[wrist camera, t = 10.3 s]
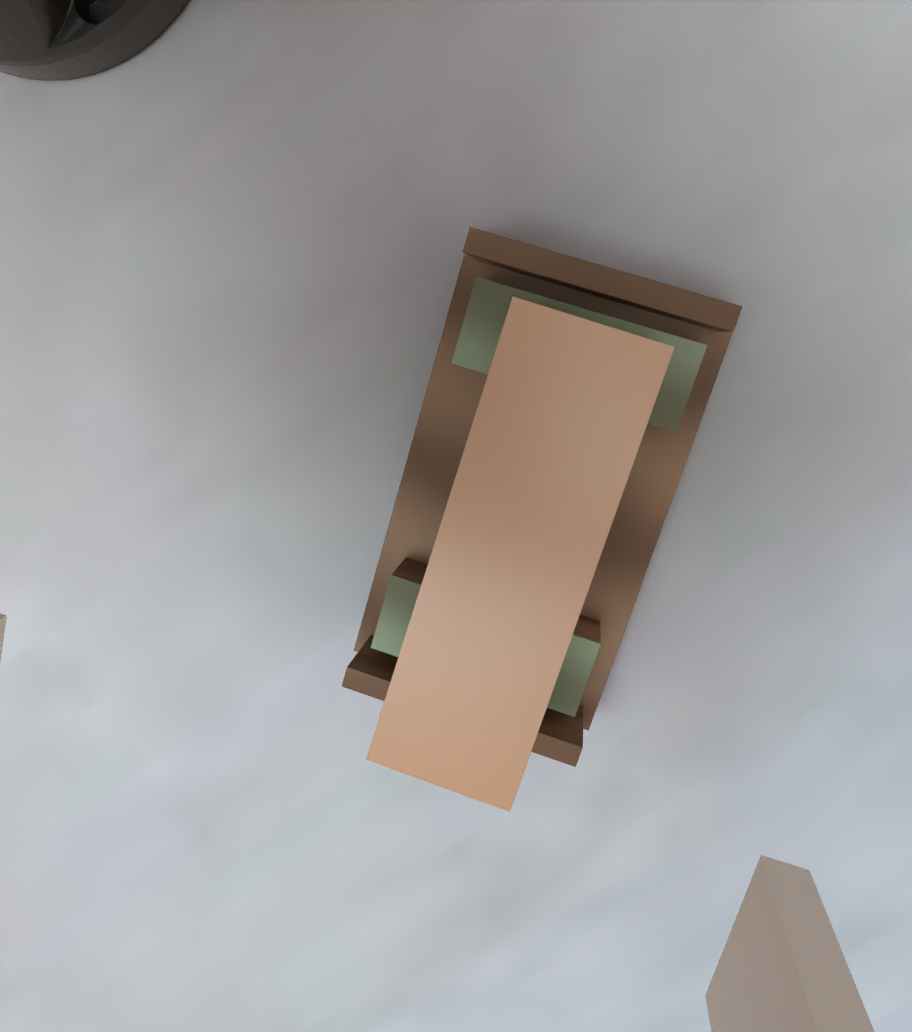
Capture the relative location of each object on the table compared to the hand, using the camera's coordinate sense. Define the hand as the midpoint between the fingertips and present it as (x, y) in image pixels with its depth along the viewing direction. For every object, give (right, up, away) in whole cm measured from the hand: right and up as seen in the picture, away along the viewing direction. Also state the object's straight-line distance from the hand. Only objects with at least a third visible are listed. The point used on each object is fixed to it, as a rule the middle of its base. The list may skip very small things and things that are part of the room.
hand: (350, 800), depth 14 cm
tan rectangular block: (+4, +4, +16) cm, 17 cm away
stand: (+5, +6, +20) cm, 22 cm away
